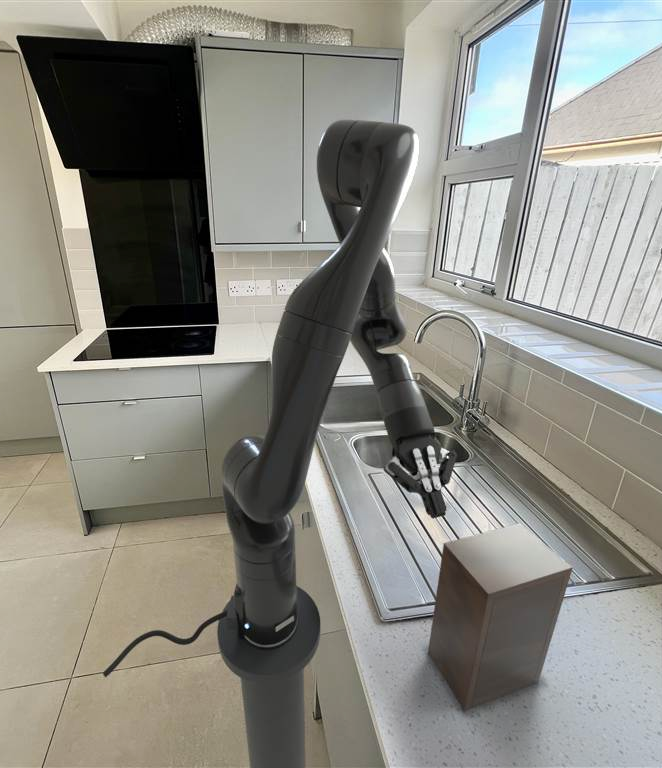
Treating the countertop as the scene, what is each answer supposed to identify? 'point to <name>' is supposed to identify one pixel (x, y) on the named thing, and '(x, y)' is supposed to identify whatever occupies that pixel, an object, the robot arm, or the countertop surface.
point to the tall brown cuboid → (495, 612)
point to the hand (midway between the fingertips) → (438, 516)
